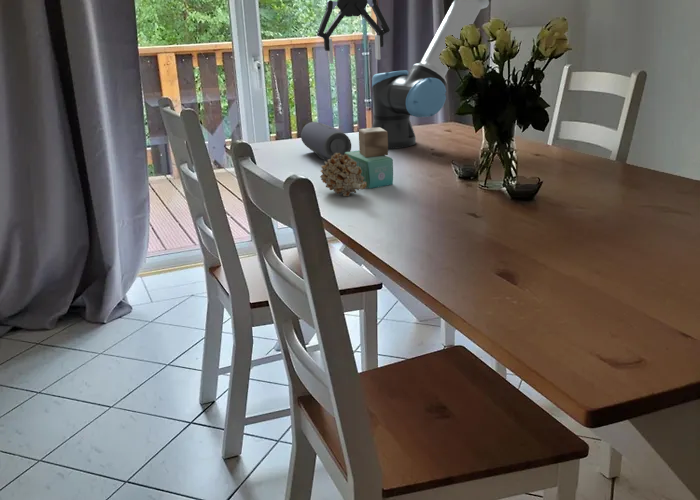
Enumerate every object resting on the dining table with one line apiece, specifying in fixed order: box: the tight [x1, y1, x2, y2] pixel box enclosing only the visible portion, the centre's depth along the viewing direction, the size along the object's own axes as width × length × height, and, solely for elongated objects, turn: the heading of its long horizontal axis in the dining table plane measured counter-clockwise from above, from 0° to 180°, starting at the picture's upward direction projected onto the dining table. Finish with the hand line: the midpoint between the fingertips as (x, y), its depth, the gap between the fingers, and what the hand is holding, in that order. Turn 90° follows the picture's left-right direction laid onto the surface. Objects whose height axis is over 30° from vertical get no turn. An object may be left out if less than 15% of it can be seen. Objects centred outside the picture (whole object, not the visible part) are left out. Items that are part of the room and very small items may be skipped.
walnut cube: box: [358, 127, 389, 157], centre depth 180 cm, size 6×6×6 cm
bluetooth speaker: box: [300, 121, 352, 162], centre depth 212 cm, size 23×9×10 cm, turn 22°
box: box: [345, 150, 394, 190], centre depth 182 cm, size 7×14×8 cm, turn 28°
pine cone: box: [319, 153, 367, 197], centre depth 169 cm, size 22×10×10 cm, turn 28°
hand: (354, 61), depth 197 cm, fingers open, 13 cm apart
